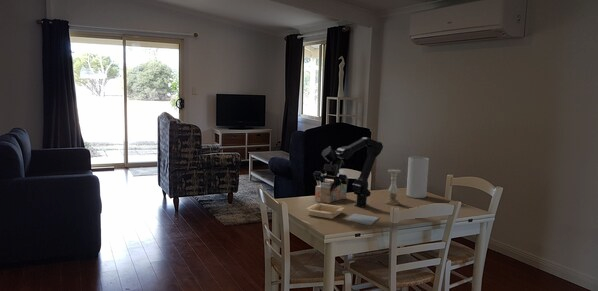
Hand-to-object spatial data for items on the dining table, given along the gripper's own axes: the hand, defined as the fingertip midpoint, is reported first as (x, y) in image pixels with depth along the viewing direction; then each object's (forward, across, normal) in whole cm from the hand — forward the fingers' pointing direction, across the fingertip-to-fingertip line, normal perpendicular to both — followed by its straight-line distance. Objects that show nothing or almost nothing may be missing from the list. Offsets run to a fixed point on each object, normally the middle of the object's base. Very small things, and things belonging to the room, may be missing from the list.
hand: (325, 190), depth 240 cm
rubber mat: (+7, +20, +12) cm, 24 cm away
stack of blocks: (-15, -12, +34) cm, 39 cm away
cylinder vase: (-43, +31, +63) cm, 83 cm away
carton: (+9, 0, +10) cm, 14 cm away
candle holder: (-24, +23, +43) cm, 55 cm away
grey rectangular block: (+3, 0, +5) cm, 6 cm away
